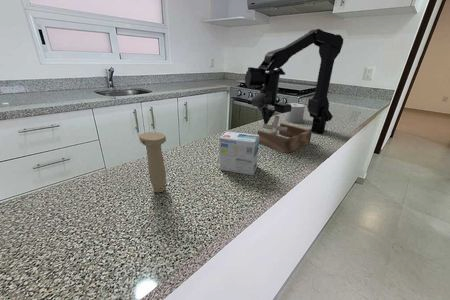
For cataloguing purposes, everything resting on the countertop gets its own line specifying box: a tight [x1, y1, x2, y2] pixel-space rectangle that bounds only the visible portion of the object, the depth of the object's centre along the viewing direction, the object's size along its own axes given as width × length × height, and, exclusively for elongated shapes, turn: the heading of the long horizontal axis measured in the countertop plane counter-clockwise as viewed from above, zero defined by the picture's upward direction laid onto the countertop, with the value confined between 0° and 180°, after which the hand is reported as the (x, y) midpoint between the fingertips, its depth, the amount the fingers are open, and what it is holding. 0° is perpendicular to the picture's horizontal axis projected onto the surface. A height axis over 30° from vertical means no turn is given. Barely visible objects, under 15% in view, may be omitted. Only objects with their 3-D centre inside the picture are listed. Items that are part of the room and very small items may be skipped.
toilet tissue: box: [284, 102, 306, 124], centre depth 116 cm, size 9×13×9 cm
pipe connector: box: [261, 115, 287, 136], centre depth 87 cm, size 10×10×10 cm
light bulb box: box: [219, 131, 260, 176], centre depth 64 cm, size 11×7×11 cm, turn 71°
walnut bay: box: [256, 122, 313, 154], centre depth 85 cm, size 16×14×5 cm
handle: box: [138, 131, 167, 193], centre depth 52 cm, size 5×6×15 cm
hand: (265, 124), depth 90 cm, fingers closed
